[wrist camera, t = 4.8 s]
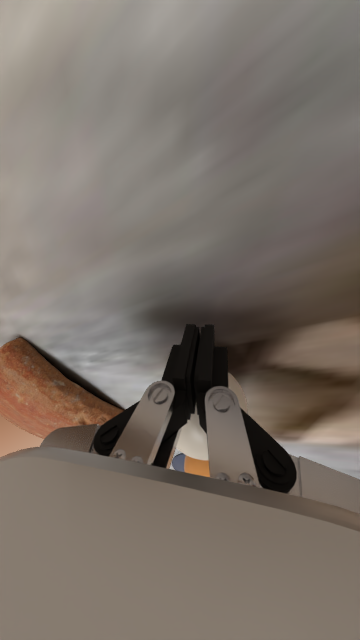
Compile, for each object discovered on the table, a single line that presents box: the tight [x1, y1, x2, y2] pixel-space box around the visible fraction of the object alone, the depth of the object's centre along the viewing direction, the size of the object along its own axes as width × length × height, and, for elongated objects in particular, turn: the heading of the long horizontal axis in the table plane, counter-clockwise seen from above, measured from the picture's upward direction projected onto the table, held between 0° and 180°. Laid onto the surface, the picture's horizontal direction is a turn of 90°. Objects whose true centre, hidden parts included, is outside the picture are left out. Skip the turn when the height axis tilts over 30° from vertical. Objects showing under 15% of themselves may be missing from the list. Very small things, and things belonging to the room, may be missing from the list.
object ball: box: [184, 455, 210, 477], centre depth 18 cm, size 6×6×6 cm
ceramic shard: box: [0, 338, 124, 439], centre depth 22 cm, size 15×6×15 cm
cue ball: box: [176, 372, 248, 460], centre depth 13 cm, size 6×6×6 cm
